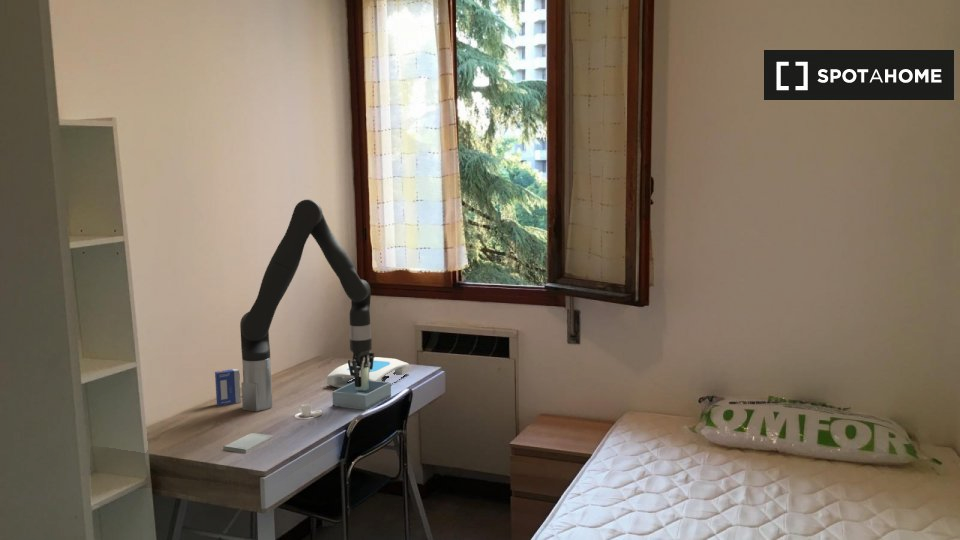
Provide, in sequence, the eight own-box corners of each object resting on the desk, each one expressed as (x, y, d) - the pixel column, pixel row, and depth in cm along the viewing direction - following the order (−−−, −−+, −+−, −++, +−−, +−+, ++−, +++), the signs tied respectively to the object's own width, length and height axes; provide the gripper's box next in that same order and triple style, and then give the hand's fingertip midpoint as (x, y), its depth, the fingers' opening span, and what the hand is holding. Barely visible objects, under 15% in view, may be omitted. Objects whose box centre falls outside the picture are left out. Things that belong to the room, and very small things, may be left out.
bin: (365, 410, 249) (365, 395, 248) (332, 405, 254) (332, 391, 253) (391, 396, 264) (390, 382, 264) (359, 392, 269) (359, 379, 269)
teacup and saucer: (326, 415, 245) (325, 403, 244) (309, 422, 238) (308, 410, 237) (306, 411, 249) (306, 399, 249) (289, 418, 242) (289, 406, 242)
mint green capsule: (364, 390, 256) (363, 369, 255) (353, 389, 257) (352, 368, 256) (371, 387, 260) (370, 366, 259) (360, 386, 262) (359, 365, 261)
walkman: (218, 406, 255) (216, 372, 253) (216, 404, 257) (214, 370, 256) (241, 402, 259) (239, 369, 258) (239, 400, 261) (237, 367, 260)
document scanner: (410, 374, 295) (409, 359, 294) (375, 393, 269) (374, 376, 268) (364, 370, 302) (363, 355, 302) (326, 388, 276) (325, 372, 276)
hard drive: (245, 449, 210) (273, 435, 221) (222, 446, 213) (250, 432, 224) (246, 455, 210) (273, 440, 222) (223, 451, 213) (251, 437, 225)
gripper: (358, 342, 248) (360, 391, 250) (380, 333, 262) (381, 380, 264) (339, 340, 251) (341, 389, 253) (362, 332, 264) (363, 378, 266)
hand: (362, 384), depth 258 cm, fingers closed on mint green capsule, 4 cm apart
